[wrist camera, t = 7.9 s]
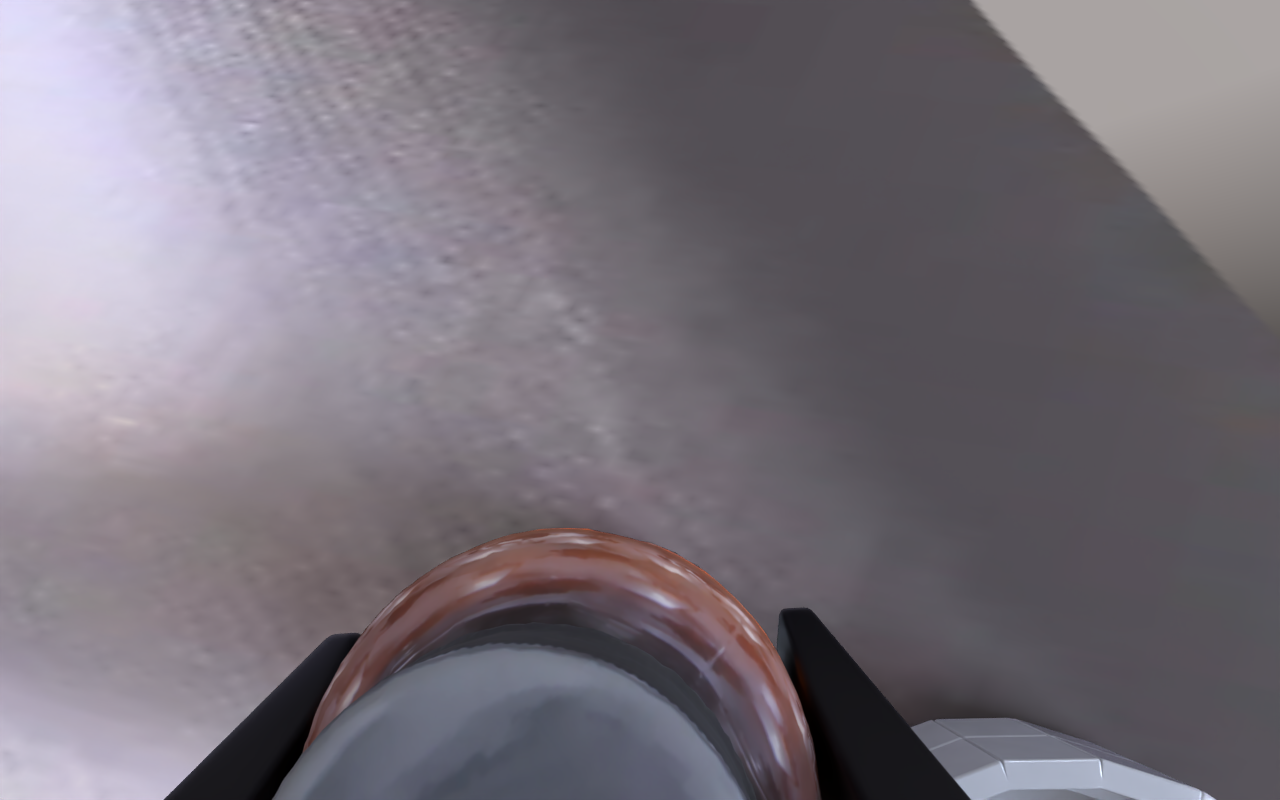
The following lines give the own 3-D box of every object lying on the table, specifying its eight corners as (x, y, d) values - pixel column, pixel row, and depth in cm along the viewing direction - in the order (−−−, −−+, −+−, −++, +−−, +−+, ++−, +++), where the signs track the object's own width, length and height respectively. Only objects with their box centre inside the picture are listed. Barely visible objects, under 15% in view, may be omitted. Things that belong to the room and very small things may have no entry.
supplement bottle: (431, 688, 16) (-119, 1011, 5) (591, 487, 17) (454, 355, 6) (630, 869, 15) (540, 1828, 4) (788, 645, 16) (1096, 863, 5)
